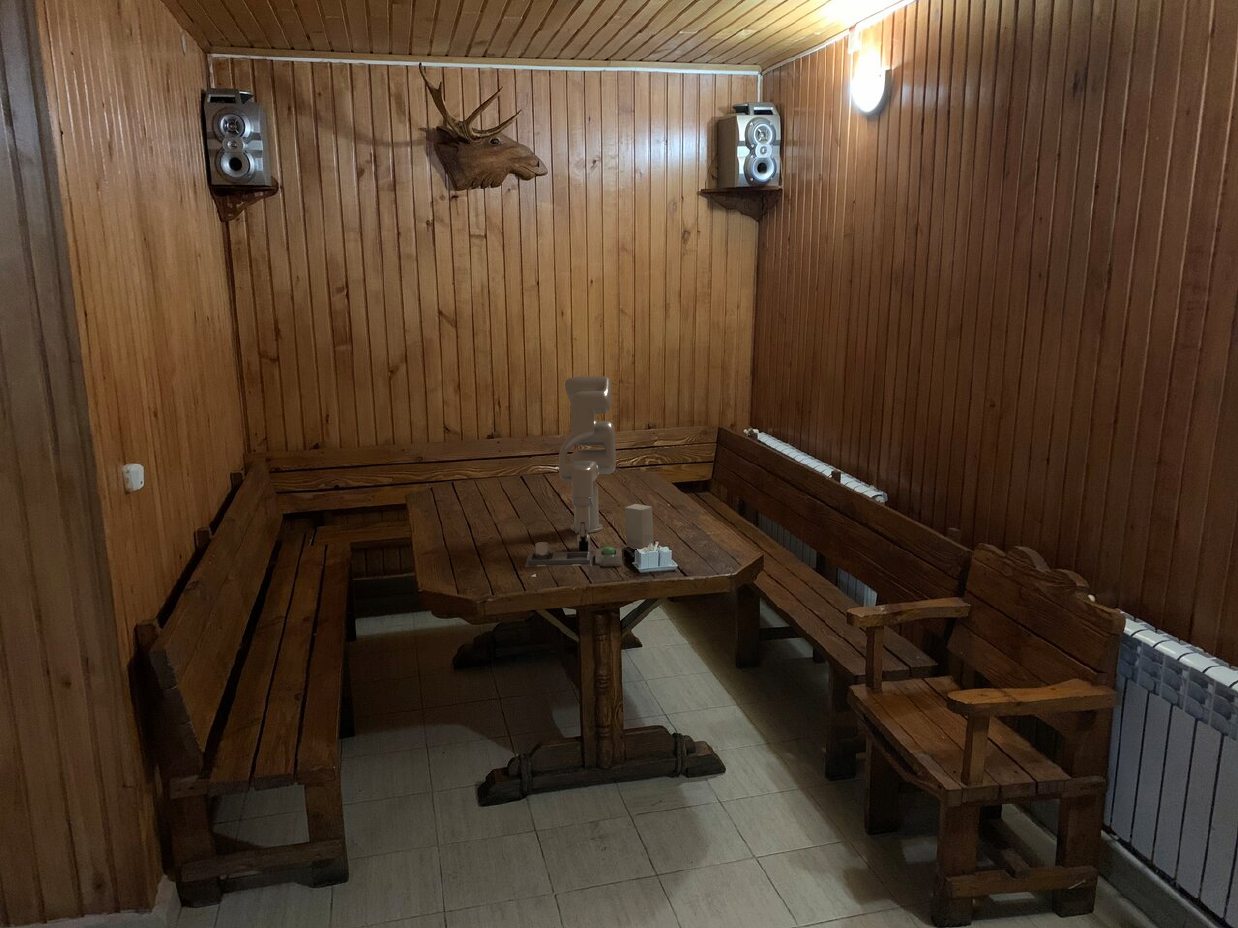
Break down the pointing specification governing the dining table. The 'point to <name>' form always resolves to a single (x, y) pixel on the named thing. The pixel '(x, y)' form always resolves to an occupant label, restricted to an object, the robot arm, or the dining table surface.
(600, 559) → the button housing
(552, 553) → the pallet
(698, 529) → the dining table surface
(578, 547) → the billet
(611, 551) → the button
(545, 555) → the billet
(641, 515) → the skincare box
